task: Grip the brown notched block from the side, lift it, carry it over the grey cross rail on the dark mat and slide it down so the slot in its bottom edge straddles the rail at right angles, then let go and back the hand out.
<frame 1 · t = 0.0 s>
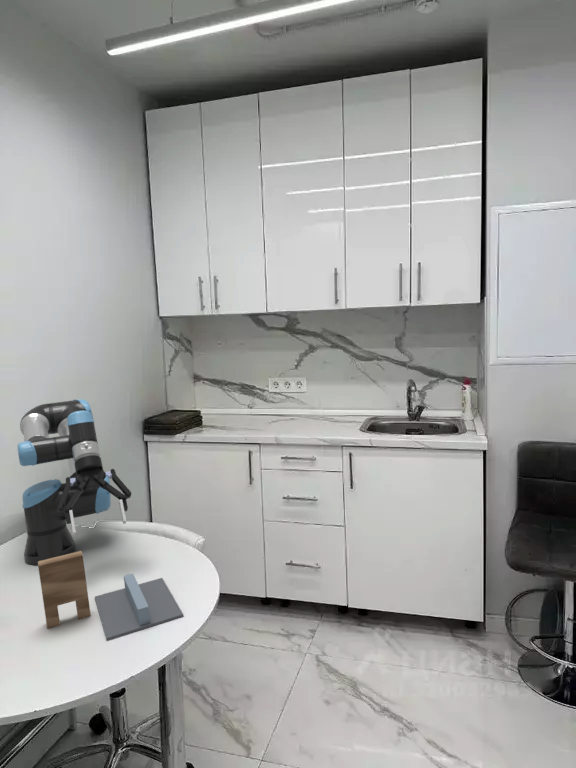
hand: (100, 528, 153), 15 cm above the table, tool tilted 35°, fingers open, 13 cm apart
brown notched block: (68, 619, 135), on the table
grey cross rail: (137, 607, 139), on the table
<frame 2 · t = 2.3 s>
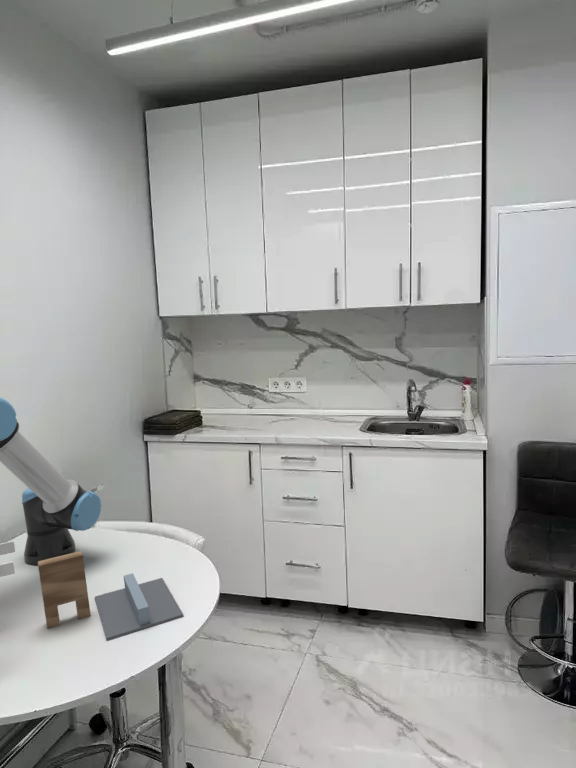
hand: (14, 556, 129), 19 cm above the table, tool horizontal, fingers open, 13 cm apart
nothing on the table moved.
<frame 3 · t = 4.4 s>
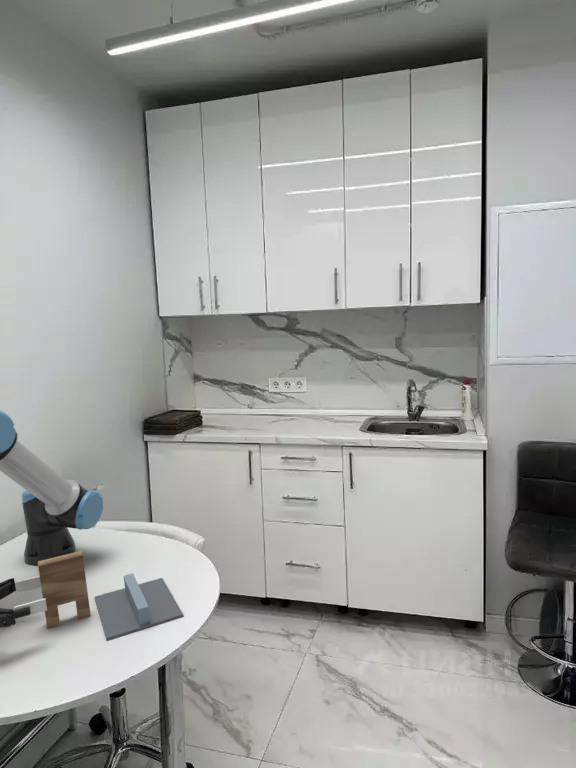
hand: (45, 591, 132), 9 cm above the table, tool horizontal, fingers open, 13 cm apart
nothing on the table moved.
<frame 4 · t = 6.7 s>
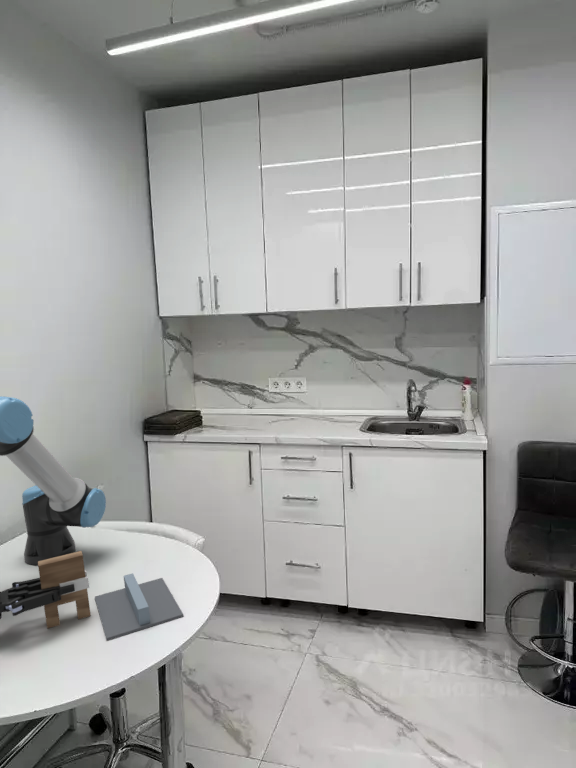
hand: (87, 579, 136), 9 cm above the table, tool horizontal, fingers closed on brown notched block, 3 cm apart
brown notched block: (68, 619, 135), on the table, touching gripper
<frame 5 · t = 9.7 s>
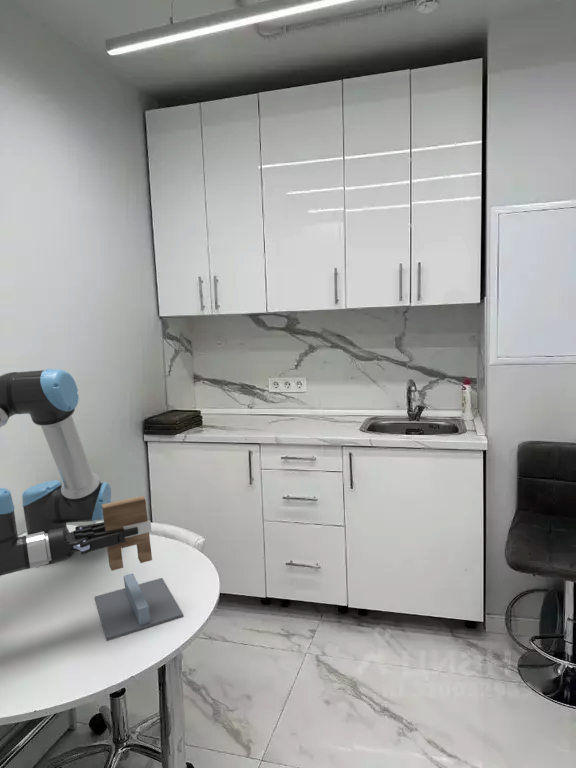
hand: (148, 523, 138), 21 cm above the table, tool horizontal, fingers closed on brown notched block, 3 cm apart
brown notched block: (130, 563, 137), point 12 cm above the table, touching gripper
when the fingers open (11 cm above the table, at t = 12.7 s): brown notched block stays where it is, resting on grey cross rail.
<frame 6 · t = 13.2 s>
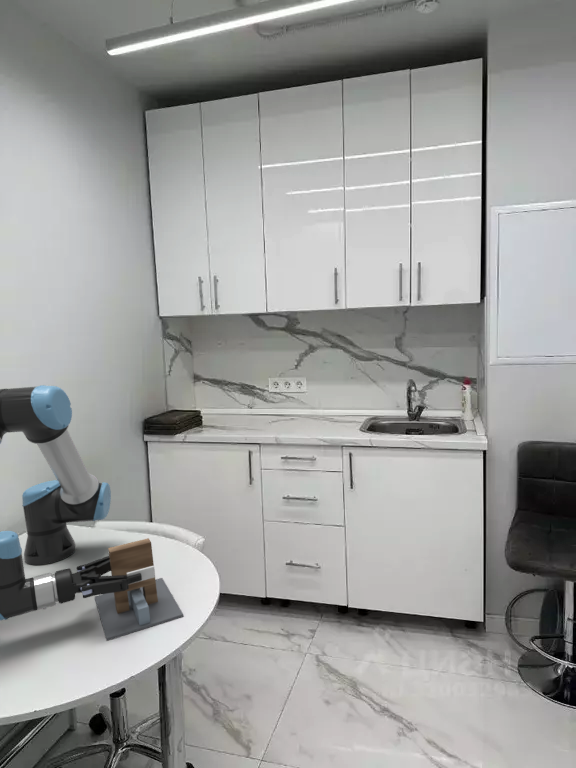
hand: (149, 563, 139), 11 cm above the table, tool horizontal, fingers open, 10 cm apart
brown notched block: (136, 604, 138), point 1 cm above the table, touching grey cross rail
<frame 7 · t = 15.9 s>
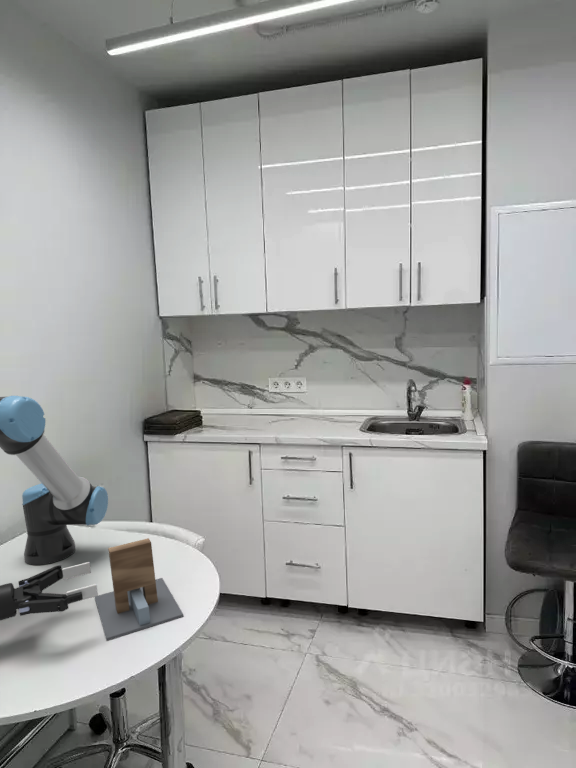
hand: (93, 577, 133), 11 cm above the table, tool horizontal, fingers open, 13 cm apart
nothing on the table moved.
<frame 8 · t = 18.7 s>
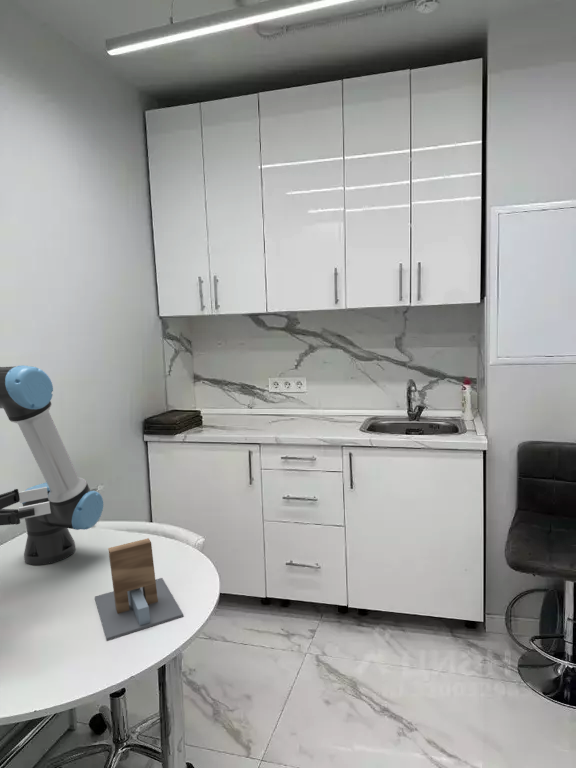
hand: (48, 499, 135), 30 cm above the table, tool horizontal, fingers open, 13 cm apart
nothing on the table moved.
at the end: brown notched block 0.0 cm off-centre on the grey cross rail, point 0.6 cm above the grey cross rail's base; brown notched block tilted 0°; the gripper is holding nothing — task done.
